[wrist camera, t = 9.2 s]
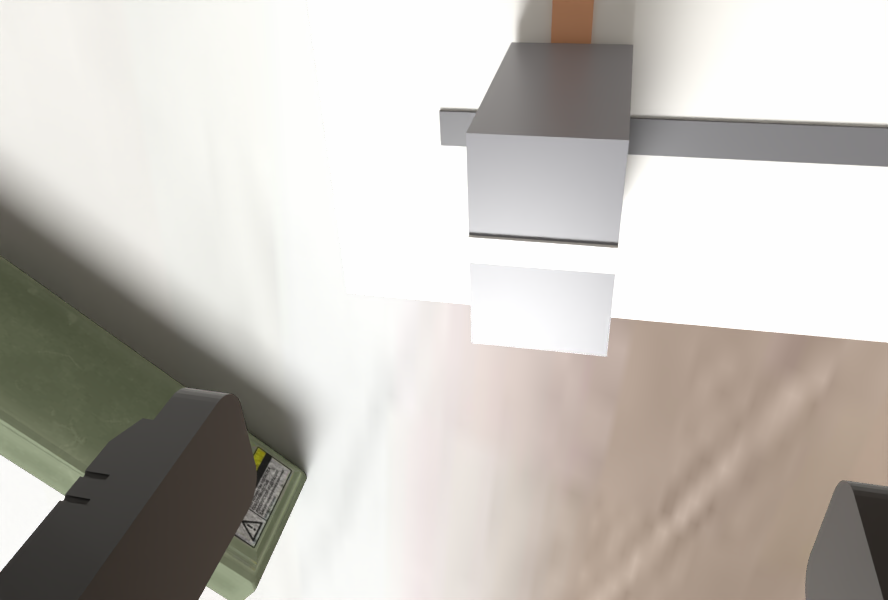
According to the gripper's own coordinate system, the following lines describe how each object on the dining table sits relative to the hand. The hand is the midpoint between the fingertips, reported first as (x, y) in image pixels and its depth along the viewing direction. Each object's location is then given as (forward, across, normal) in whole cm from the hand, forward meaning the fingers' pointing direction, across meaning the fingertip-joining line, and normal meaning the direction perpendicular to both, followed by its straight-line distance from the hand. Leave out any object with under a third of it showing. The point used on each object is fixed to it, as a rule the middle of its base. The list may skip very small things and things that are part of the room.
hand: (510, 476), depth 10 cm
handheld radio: (+16, +22, +12) cm, 29 cm away
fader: (+12, 0, 0) cm, 12 cm away
